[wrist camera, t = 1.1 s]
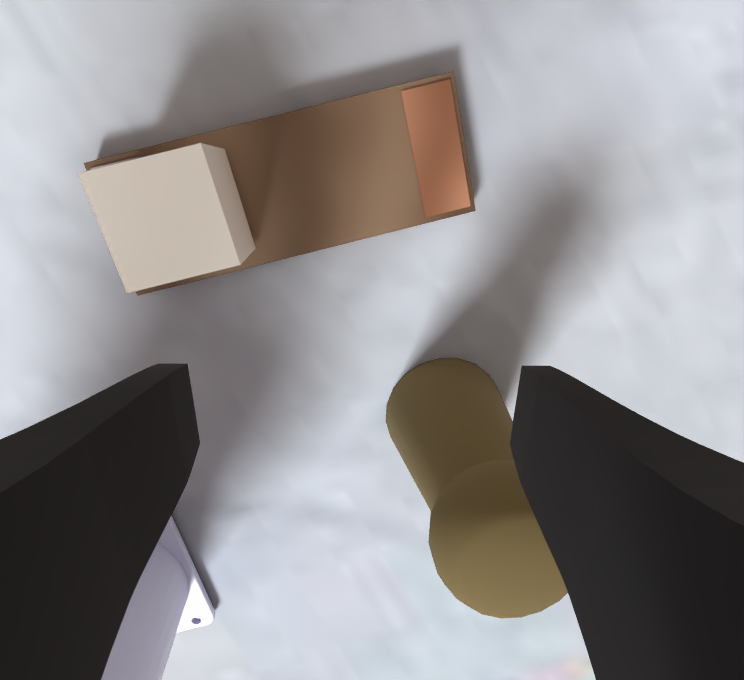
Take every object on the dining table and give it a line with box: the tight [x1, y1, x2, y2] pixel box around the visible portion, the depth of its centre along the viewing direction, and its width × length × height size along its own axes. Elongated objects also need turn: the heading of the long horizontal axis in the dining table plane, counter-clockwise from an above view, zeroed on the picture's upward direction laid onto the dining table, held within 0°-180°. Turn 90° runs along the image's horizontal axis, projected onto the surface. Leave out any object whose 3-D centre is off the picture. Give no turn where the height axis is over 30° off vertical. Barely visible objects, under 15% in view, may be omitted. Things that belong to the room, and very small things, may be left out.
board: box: [84, 72, 475, 296], centre depth 21 cm, size 15×6×1 cm, turn 103°
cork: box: [386, 359, 568, 618], centre depth 20 cm, size 6×6×11 cm
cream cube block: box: [78, 143, 256, 293], centre depth 18 cm, size 4×4×4 cm
